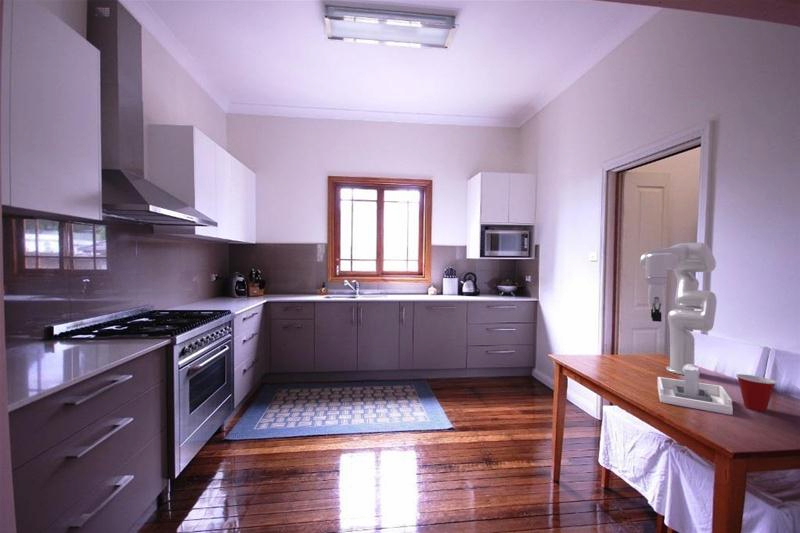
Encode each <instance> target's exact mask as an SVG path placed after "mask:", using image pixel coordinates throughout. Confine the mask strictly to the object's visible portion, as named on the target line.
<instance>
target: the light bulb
mask: <svg viewBox="0 0 800 533" xmlns="http://www.w3.org/2000/svg"><path fill="white" fill-rule="evenodd" d="M686 366H691V367H698V366H697V365H695V364H694V365H693V364H687V365H685V366H684V367H683V373H684V374H685V368H686ZM700 374H701V371H700V369H699V375H700Z"/></svg>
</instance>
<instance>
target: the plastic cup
mask: <svg viewBox="0 0 800 533" xmlns="http://www.w3.org/2000/svg"><path fill="white" fill-rule="evenodd" d="M735 376H736V377H737V380H738V384H739V388H740V393H741V397H742V400H743V405H744V407H745V408H746V409H748V410H750V411H751V410H752V411H755V412H761V413H763V412H767V410H768V406H769V404H770V401H771V396H772V393H773V390H774V388H775V386H776V384H777V383H778V382H777V381H776V380H775V379H774V380H773V379H771V378H769V377H768V378H766V377H762V376H758V375H752V374H743V373H738V374H737V373H736V374H735Z"/></svg>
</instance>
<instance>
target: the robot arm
mask: <svg viewBox="0 0 800 533" xmlns="http://www.w3.org/2000/svg"><path fill="white" fill-rule="evenodd" d="M639 266H640V267H641V268H642V269H644V270H645V285H647V286H648V290H647V291H648V292H647V299H648V300H647V305H648V307H651V308H650V318H651V320H652V322H658V323H659V322H662V308H663V305H664V304H663V303H664V286H667V285H668V283H667V282H668V281H667V280H668V273H667V271H669V270H673V273H674V275H675V277H676V281H677V284H676V289H675V295H674V303H675V306H677V307H678V308H675V309H672V310H671V309H670V311H669V312H668V314H667V322H668V326H669V365H668V366H666V367H665V369H666V371H667V372H670V373H673V374H677V375H681V376H685V374H684V373H683V367H684V366H685V365H687V364H693V365H695V337H694V334H693V333H692V332H691V331H690V330H692V331H693V330H694V331H702V332H710V331H712V329H713V328H714V326H715V317H716V311H717V296H716V294H715V293H714V291H713V292H712V291H710V290H699V286H700V282H699V279H697V277H695V275H694V274H692V273H711V272H713V271H714V270H715V269H716V267H717V262H716V258H715V256H714V254H713V252H712V250H711V248H710V247H709V245H708V244H706V243H704V242H683V243H682V242H681V243H676V244H675V245H672V246H670V247H666V248H662V249H656V250H655V249H654V250H650V251H647V252H644V253H643V254H642V255H641V257H640V258H639Z"/></svg>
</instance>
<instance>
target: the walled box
mask: <svg viewBox="0 0 800 533" xmlns="http://www.w3.org/2000/svg"><path fill="white" fill-rule="evenodd" d="M657 390H658V396H659V401H660V402H659V403H662V402H663V404H668V405H669V404H670V405H673V406H674V405H675V406H680V407H685V408H691V409H698V410H703V411H709V412H712V413H713V412H714V413H719V414H726V415H731V416H733V415H734V414H733V399H731V397H730V395H729V394H728V393H727V391H726V390H725V388H724V387H723V386H722V385H718V384H717V385H716V384H711V383H710V384H709V383H703V382H699V396H694V395H688V394H684V379H683V380H682V379H675V378H671V377H670V378H669V377H662V376H657Z"/></svg>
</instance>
